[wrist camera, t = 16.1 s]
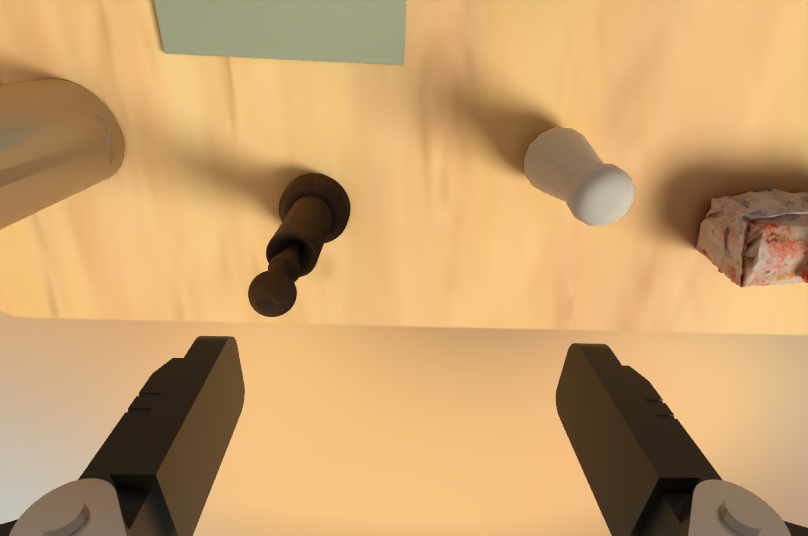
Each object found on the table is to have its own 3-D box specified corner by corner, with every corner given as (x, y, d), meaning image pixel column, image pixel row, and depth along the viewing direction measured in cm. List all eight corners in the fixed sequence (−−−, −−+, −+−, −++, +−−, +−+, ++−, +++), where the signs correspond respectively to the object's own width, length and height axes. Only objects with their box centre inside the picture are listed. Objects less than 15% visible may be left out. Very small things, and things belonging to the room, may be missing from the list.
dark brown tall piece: (279, 225, 44) (208, 332, 28) (289, 164, 41) (216, 246, 25) (342, 242, 45) (309, 355, 29) (357, 184, 42) (329, 274, 26)
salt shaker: (512, 182, 42) (554, 238, 30) (523, 121, 39) (574, 156, 27) (572, 185, 42) (636, 242, 30) (587, 124, 39) (664, 161, 28)
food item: (681, 259, 46) (746, 311, 37) (696, 187, 42) (773, 226, 33) (814, 246, 45) (913, 296, 36) (842, 171, 41) (960, 207, 32)
